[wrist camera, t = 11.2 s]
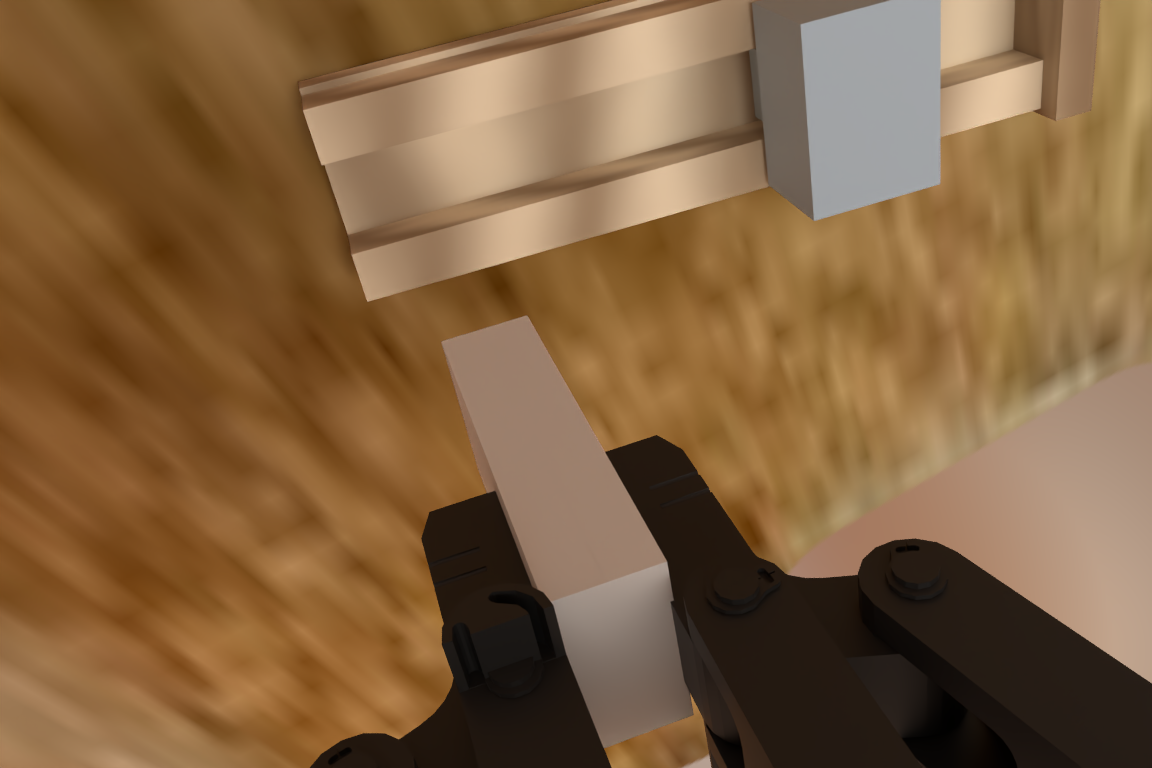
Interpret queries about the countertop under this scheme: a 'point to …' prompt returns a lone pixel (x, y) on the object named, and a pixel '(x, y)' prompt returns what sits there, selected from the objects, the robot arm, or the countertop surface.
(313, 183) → the countertop surface
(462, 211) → the rail
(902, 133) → the rider
